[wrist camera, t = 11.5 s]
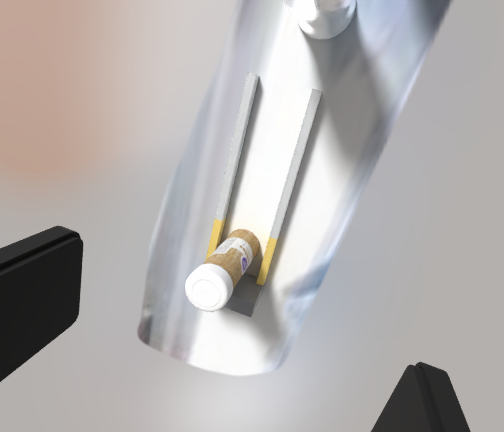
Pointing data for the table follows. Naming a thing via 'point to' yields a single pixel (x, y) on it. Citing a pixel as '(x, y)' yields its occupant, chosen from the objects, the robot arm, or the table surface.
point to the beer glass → (322, 16)
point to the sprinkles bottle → (221, 271)
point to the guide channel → (251, 286)
